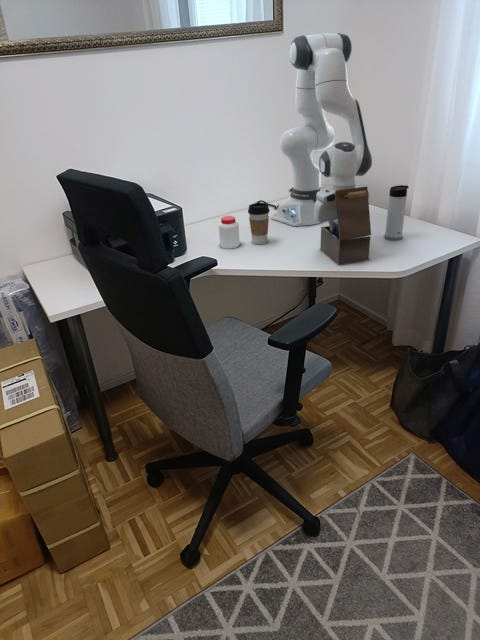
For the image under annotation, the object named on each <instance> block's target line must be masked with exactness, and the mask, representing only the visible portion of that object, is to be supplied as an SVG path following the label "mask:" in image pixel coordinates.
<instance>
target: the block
mask: <svg viewBox="0 0 480 640" xmlns="http://www.w3.org/2000/svg"><path fill="white" fill-rule="evenodd" d="M332 225H333V226H335V227H336V229H335V230H336V231H334V232H331V233H332V234H333V235H335V236H336V237H337V238H339V230H338V220H333V223H332Z"/></svg>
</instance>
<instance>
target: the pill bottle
mask: <svg viewBox="0 0 480 640" xmlns="http://www.w3.org/2000/svg"><path fill="white" fill-rule="evenodd" d="M218 233H219V234H218V236H219V246H220V248H222V249H227V250H228V249H229V250H230V249H236V248H238V247H239V246H240V245H241V243H240V226H239V222H238V221H236V216H234V215H225V216H224V215H223V216H222V217H221V218H220V223H219V224H218Z"/></svg>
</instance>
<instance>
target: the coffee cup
mask: <svg viewBox="0 0 480 640" xmlns="http://www.w3.org/2000/svg"><path fill="white" fill-rule="evenodd" d="M270 212H271V210H270V207H269V205H268V204H266V203H263V202H259V203H257V202H255V203H251V204H249V205H248V209H247V213H248V216H249V217H248V220H249V225H250V226H249V228H250V234H251V240H252V243H253V244H254V245H265V244H267V243H268V237H269V236H268V234H269V223H270V221H269V220H270V216H269V213H270Z"/></svg>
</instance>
